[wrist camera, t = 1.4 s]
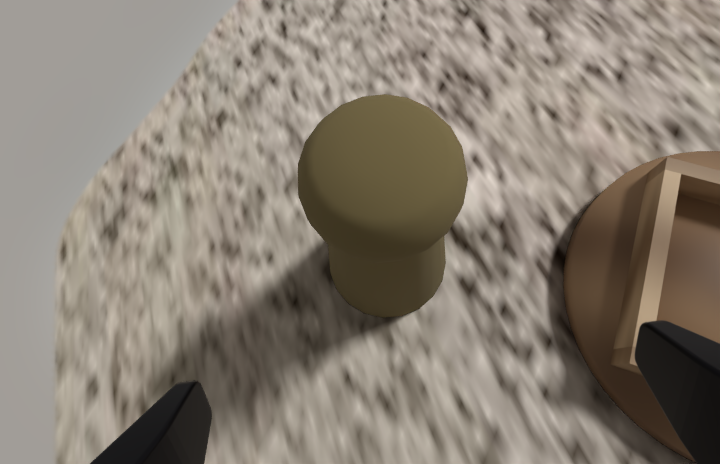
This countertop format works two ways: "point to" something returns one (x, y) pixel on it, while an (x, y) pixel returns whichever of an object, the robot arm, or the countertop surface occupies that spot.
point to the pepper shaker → (383, 199)
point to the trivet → (645, 274)
